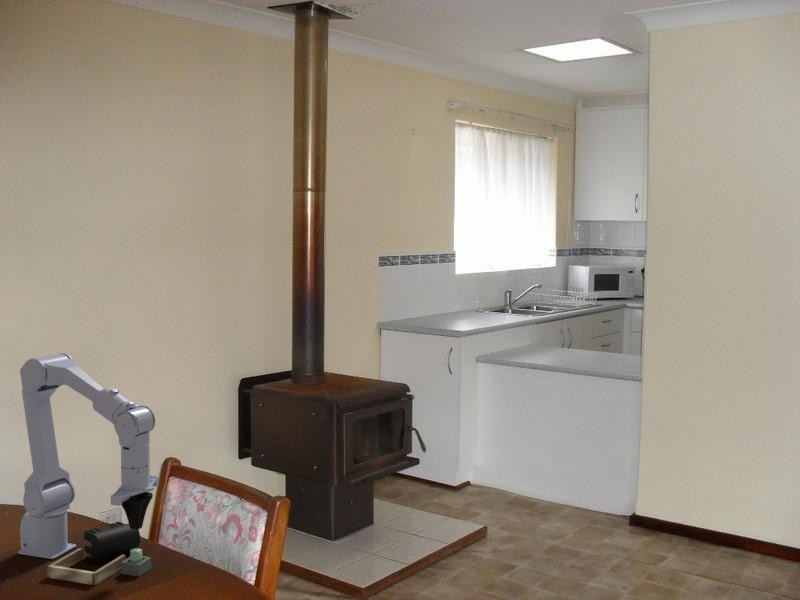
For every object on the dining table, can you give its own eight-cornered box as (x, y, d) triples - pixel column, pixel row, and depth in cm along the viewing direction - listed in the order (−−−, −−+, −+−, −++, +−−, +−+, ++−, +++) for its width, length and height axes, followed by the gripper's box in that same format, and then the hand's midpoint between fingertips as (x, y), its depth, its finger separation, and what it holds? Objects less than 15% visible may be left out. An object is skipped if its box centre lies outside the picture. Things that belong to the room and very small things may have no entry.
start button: (128, 566, 181) (127, 551, 180) (134, 562, 183) (134, 547, 183) (137, 568, 180) (137, 553, 180) (144, 563, 182) (144, 549, 182)
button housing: (121, 573, 180) (121, 562, 180) (133, 565, 184) (133, 554, 184) (139, 576, 179) (139, 565, 179) (151, 568, 183) (151, 557, 183)
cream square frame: (47, 577, 178) (47, 566, 177) (79, 558, 188) (79, 548, 187) (95, 585, 174) (95, 574, 174) (125, 565, 184) (125, 555, 184)
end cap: (99, 568, 183) (99, 537, 182) (82, 559, 188) (82, 529, 187) (141, 554, 191) (140, 525, 190) (123, 546, 195) (123, 517, 195)
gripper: (131, 476, 171) (132, 542, 173) (171, 458, 185) (171, 519, 187) (101, 473, 173) (102, 538, 175) (142, 454, 187) (143, 515, 189)
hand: (135, 528), depth 181 cm, fingers closed
